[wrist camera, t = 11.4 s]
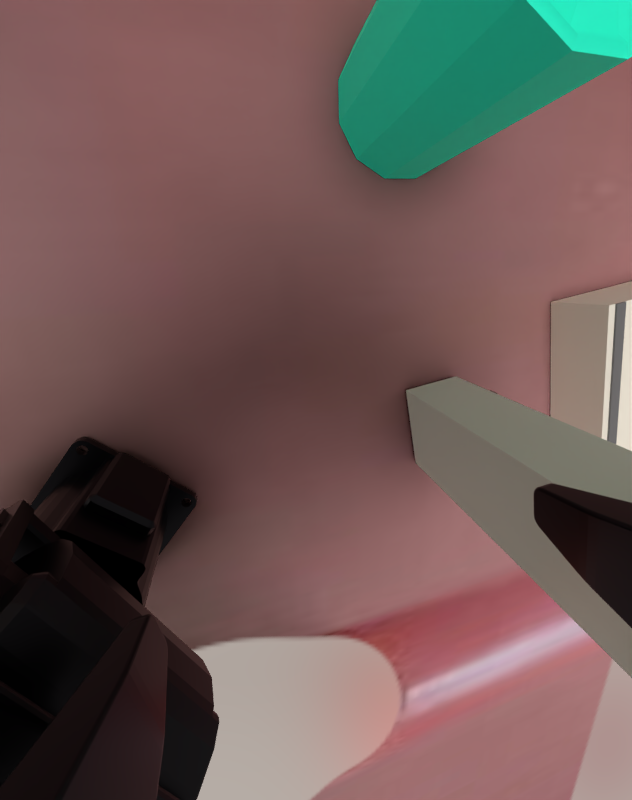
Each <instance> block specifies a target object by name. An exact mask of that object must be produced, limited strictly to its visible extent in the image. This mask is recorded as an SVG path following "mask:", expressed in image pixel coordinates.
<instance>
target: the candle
mask: <svg viewBox="0 0 632 800" xmlns="http://www.w3.org/2000/svg"><path fill="white" fill-rule="evenodd" d="M630 57H632V0H377V1H376V3H375V5H374V6H373V8H372V10H371V12H370V14H369V16H368V18H367V20H366V22H365V24H364V26H363V28H362V30H361V32H360V34H359V36H358V38H357V40H356V42H355V44H354V46H353V48H352V50H351V53H350V55H349V57H348V59H347V62H346V64H345V66H344V68H343V70H342V73H341V75H340V77H339V79H338V95H339V124H340V126H341V128H342V130H343V132H344V134H345V136H346V138H347V140H348V143H349V145H350V147H351V149H352V151H353V153H354V155H355V157H356V159H357V160H359V161H360V162H362V163H363V164H364V165H366V166H367V167H369V168H370V169H372V170H373V171H374V172H376V173H377V174H379V175H380V176H382V177H383V178H384V179H416V178H417V177H419V176H421V175H423V174H425V173H426V172H428V171H430V170H432V169H433V168H435V167H437V166H439V165H441V164H442V163H444V162H446V161H448V160H449V159H451V158H453V157H455V156H457V155H458V154H460V153H462V152H464V151H466V150H467V149H469V148H471V147H473V146H474V145H476V144H478V143H480V142H482V141H483V140H485V139H487V138H489V137H490V136H492V135H494V134H496V133H498V132H499V131H501V130H503V129H505V128H506V127H508V126H510V125H512V124H514V123H515V122H517V121H519V120H521V119H522V118H524V117H526V116H528V115H530V114H531V113H533V112H535V111H537V110H538V109H540V108H542V107H544V106H546V105H547V104H549V103H551V102H553V101H554V100H556V99H558V98H560V97H562V96H563V95H565V94H567V93H569V92H570V91H572V90H574V89H576V88H578V87H579V86H581V85H583V84H585V83H586V82H588V81H590V80H592V79H594V78H595V77H597V76H599V75H601V74H602V73H604V72H606V71H608V70H610V69H611V68H613V67H615V66H617V65H618V64H620V63H622V62H624V61H626V60H627V59H629V58H630Z"/></svg>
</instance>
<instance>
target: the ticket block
mask: <svg viewBox="0 0 632 800" xmlns="http://www.w3.org/2000/svg"><path fill="white" fill-rule="evenodd" d="M550 417H553V418H555V419H557V420H560V421H562V422H564V423H567V424H569V425H571V426H574V427H576V428H578V429H581V430H583V431H585V432H588V433H590V434H592V435H595V436H597V437H600V438H602V439H604V440H607V441H609V442H611V443H614V444H616V445H618V446H621V447H623V448H625V449H628V450H630V451H632V281H630V282H626V283H622V284H618V285H615V286H611V287H607V288H603V289H599V290H595V291H591V292H587V293H583V294H580V295H576V296H572V297H568V298H564V299H560V300H556V301H552V302H551V406H550Z"/></svg>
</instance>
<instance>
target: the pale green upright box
mask: <svg viewBox="0 0 632 800" xmlns="http://www.w3.org/2000/svg"><path fill="white" fill-rule="evenodd" d="M406 395H407V402H408V410H409V417H410V425H411V432H412V440H413V447H414V455H415V462H416V464H417V465H418V466H419V467H420V468H421V469H422V470H423V471H424V472H425V473H426V474H427V475H428V476H429V477H430V478H431V479H432V480H433V481H434V482H435V483H436V484H437V485H438V486H439V487H440V488H441V489H442V490H443V491H444V492H445V493H446V494H447V495H448V496H449V497H450V498H451V499H452V500H453V501H454V502H455V503H456V504H457V505H458V506H459V507H460V508H461V509H462V510H463V511H464V512H465V513H466V514H467V515H468V516H469V517H470V518H472V519H473V520H474V521H475V522H476V523H477V524H478V525H479V526H480V527H481V528H482V529H483V530H484V531H485V532H486V533H487V534H488V535H489V536H490V537H491V538H492V539H493V540H494V541H495V542H496V543H497V544H498V545H499V546H500V547H501V548H502V549H503V550H504V551H505V552H506V553H507V554H508V555H509V556H510V557H511V558H512V559H513V560H514V561H515V562H516V563H517V564H518V565H519V566H520V567H521V568H522V569H523V570H524V571H525V572H526V573H527V574H528V575H529V576H530V577H531V578H532V579H533V580H534V581H535V582H536V583H537V584H538V585H539V586H540V587H541V588H542V589H543V590H544V591H545V592H546V593H547V594H548V595H549V596H550V597H551V598H552V599H553V600H554V601H555V602H556V603H557V604H558V605H559V606H560V607H561V608H562V609H563V610H564V611H565V612H566V613H567V614H568V615H569V616H570V617H571V618H572V619H573V620H574V621H575V622H576V623H577V624H578V625H579V626H580V627H581V628H582V629H583V630H584V631H585V632H586V633H587V634H588V635H589V636H590V637H591V638H592V639H593V640H594V641H595V642H596V643H597V644H598V645H599V646H600V647H601V648H602V649H603V650H604V651H605V652H606V653H607V654H608V655H609V656H610V657H611V658H612V659H613V660H614V661H615V662H616V663H617V664H618V665H619V666H620V667H621V668H622V669H623V670H625V672H626V673H627V674H628V675H629V676H631V678H632V628H631V627H630V626H629V625H628V624H627V623H626V622H625V621H624V620H623V619H622V618H621V617H620V616H619V615H618V614H617V613H616V612H615V611H614V610H613V609H612V608H611V607H610V606H609V605H608V604H607V603H606V602H605V601H604V600H603V599H602V598H601V597H600V596H599V595H598V594H597V593H596V592H595V591H594V590H593V589H592V588H591V587H590V586H589V585H588V584H587V583H586V582H585V581H584V580H583V579H582V577H581V576H580V575H579V574H578V573H577V572H576V571H575V569H574V568H573V567H572V566H571V565H570V563H569V562H568V561H567V560H566V559H565V557H564V556H563V555H562V554H561V553H560V552H559V550H558V549H557V548H556V547H555V546H554V544H553V543H552V542H551V541H550V540H549V538H548V537H547V536H546V535H545V534H544V533H543V531H542V530H541V529H540V528H539V526H538V525H537V523H536V521H535V519H534V490H535V489H536V488H537V487H540V486H543V485H546V484H549V483H554V484H558V485H562V486H566V487H570V488H574V489H579V490H583V491H587V492H591V493H595V494H599V495H603V496H607V497H611V498H615V499H619V500H623V501H627V502H632V451H630V450H628V449H625V448H623V447H621V446H618V445H616V444H614V443H611V442H609V441H607V440H604V439H602V438H600V437H597V436H595V435H592V434H590V433H588V432H585V431H583V430H581V429H578V428H576V427H574V426H571V425H569V424H567V423H564V422H562V421H560V420H557V419H555V418H553V417H550V416H548V415H545V414H543V413H541V412H538V411H536V410H534V409H531V408H529V407H527V406H524V405H522V404H520V403H517V402H515V401H513V400H510V399H508V398H505V397H503V396H501V395H498V394H497V393H495V392H493V391H491V390H490V391H489V390H487V389H484V388H482V387H480V386H477V385H475V384H473V383H470V382H468V381H465V380H463V379H461V378H458V377H456V376H455V377H452V378H448V379H445V380H441V381H437V382H434V383H430V384H426V385H423V386H419V387H416V388H412V389H408V390H406Z"/></svg>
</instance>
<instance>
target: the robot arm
mask: <svg viewBox="0 0 632 800" xmlns="http://www.w3.org/2000/svg"><path fill="white" fill-rule="evenodd" d="M81 445H83V446H86V447H87V448H88V452H84V451H82V450H81V449H80V447H79V446H81ZM185 498H188V499H190V500H191V502H188V503H186V502H184V501H183V499H185ZM196 503H197V496H196V494H195V493H194V492H193V491H191V490H189V489H187V488H185V487H183V486H181V485H179V484H178V483H176V482H174V481H172V480H170V479H169V476H168V475H166V474H164V473H162V472H160V471H158V470H156V469H154V468H153V467H151V466H149V465H147V464H145V463H143V462H141V461H139V460H137V459H135V458H133V457H131V456H129V455H128V454H126V453H117V452H116V451H114V450H112V449H110V448H108V447H106V446H104V445H102V444H100V443H98V442H96V441H94V440H92V439H90V438H87V437H82V438H79V439H77V440H76V441H75V442H74V443H73V444H72V445H71V447H70V448H69V450H68V451H67V453H66V454H65V456H64V457H63V459H62V460H61V462H60V463H59V464H58V466H57V467H56V469H55V470H54V472H53V473H52V475H51V476H50V478H49V479H48V481H47V482H46V484H45V485H44V487H43V488H42V490H41V491H40V493H39V494H38V495H37V497H36V498H35V500H34V501H33V503H32V504H31V506H30V505H29V504H27V503H26V502H25V501H24V500H20V501H19V502H17V503H15V504H14V505H12V506H11V507H9V508H7V509H6V510H5V509H1V510H0V800H196V799H197V797H198V794H199V791H200V789H201V786H202V783H203V780H204V777H205V774H206V771H207V768H208V765H209V762H210V759H211V756H212V754H213V751H214V746H215V741H216V735H217V730H218V724H219V717H218V715H217V713H215V712H214V711H213V708H214V702H213V688H212V677H211V675H210V673H209V671H208V669H207V667H206V665H205V663H204V661H203V660H202V659H201V658H200V657H199V656H198V655H197V654H196V653H195V652H194V651H192V650H191V649H190V648H189V647H188V646H187V645H186V644H185V643H184V642H183V641H181V640H180V639H179V638H178V637H177V636H176V635H175V634H174V633H173V632H171V631H170V630H169V629H168V628H167V627H166V626H165V625H164V624H163V623H162V622H160V621H159V620H158V619H157V618H156V617H155V616H154V615H153V614H152V613H151V612H149V611H148V610H147V609H146V608H145V603H146V599H147V596H148V592H149V588H150V585H151V581H152V577H153V574H154V570H155V566H156V563H157V559H158V556H159V554H160V553H161V552H162V550H163V549H164V548H165V546H166V545H167V544H168V542H169V541H170V540H171V538H172V537H173V536H174V534H175V533H176V532H177V530H178V529H179V528H180V526H181V525H182V523H183V522H184V521H185V519H186V518H187V517H188V515H189V514H190V513H191V511H192V510H193V509H194V507H195V506H196ZM534 519H535V521H536V523H537V525H538V526H539V528H540V529H541V530H542V531H543V533H544V534H545V535H546V536H547V537H548V538H549V540H550V541H551V542H552V543H553V544H554V546H555V547H556V548H557V549H558V550H559V552H560V553H561V554H562V555H563V556H564V557H565V559H566V560H567V561H568V562H569V563H570V565H571V566H572V567H573V568H574V569H575V571H576V572H577V573H578V574H579V575H580V576H581V577H582V579H583V580H584V581H585V582H586V583H587V584H588V585H589V586H590V587H591V588H592V589H593V590H594V591H595V592H596V593H597V594H598V595H599V596H600V597H601V598H602V599H603V600H604V601H605V602H606V603H607V604H608V605H609V606H610V607H611V608H612V609H613V610H614V611H615V612H616V613H617V614H618V615H619V616H620V617H621V618H622V619H623V620H624V621H625V622H626V623H627V624H628V625H629V626H630V627H631V628H632V502H627V501H623V500H619V499H615V498H611V497H607V496H603V495H599V494H595V493H591V492H587V491H583V490H579V489H574V488H570V487H566V486H562V485H558V484H554V483H549V484H546V485H543V486H540V487H537V488H536V489H535V490H534Z"/></svg>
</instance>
